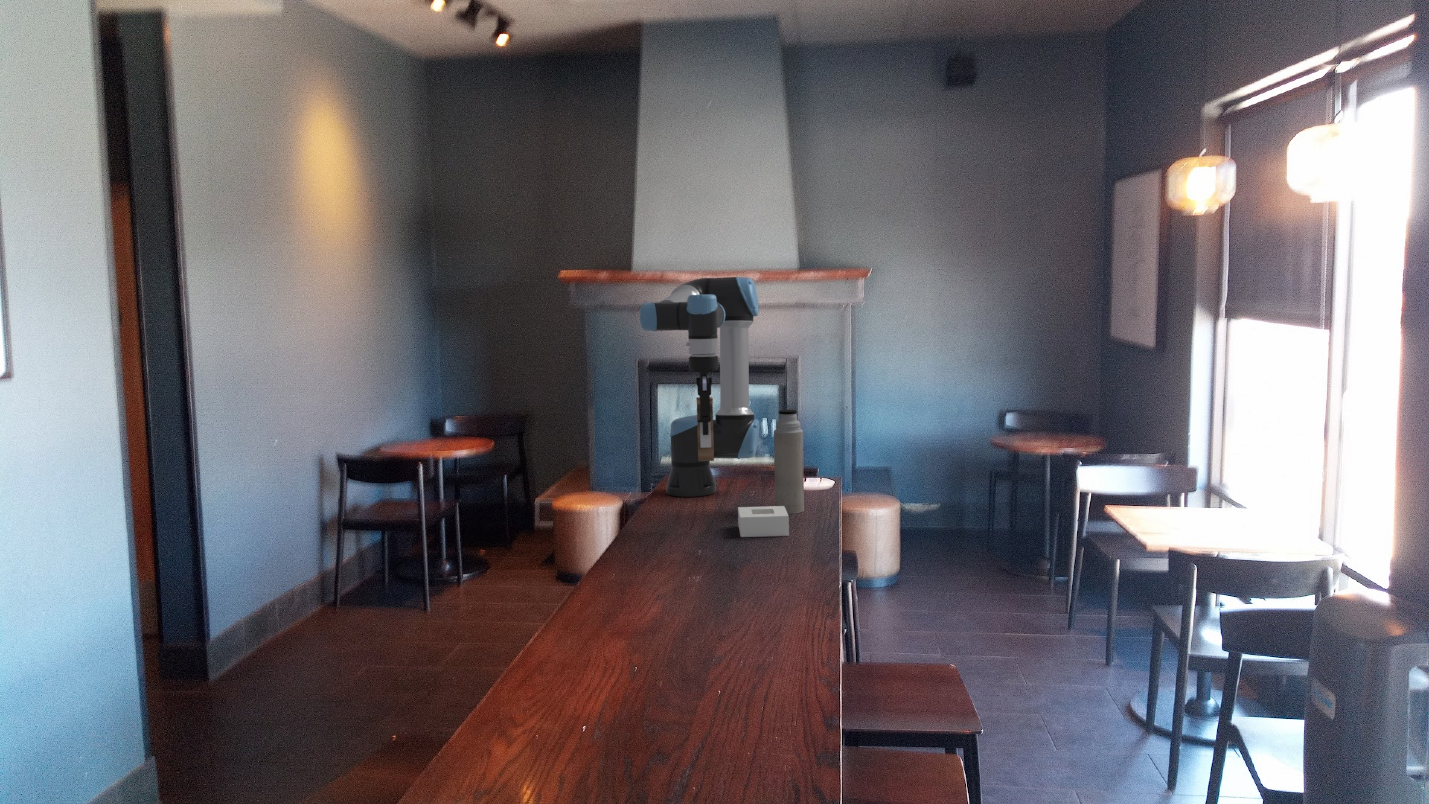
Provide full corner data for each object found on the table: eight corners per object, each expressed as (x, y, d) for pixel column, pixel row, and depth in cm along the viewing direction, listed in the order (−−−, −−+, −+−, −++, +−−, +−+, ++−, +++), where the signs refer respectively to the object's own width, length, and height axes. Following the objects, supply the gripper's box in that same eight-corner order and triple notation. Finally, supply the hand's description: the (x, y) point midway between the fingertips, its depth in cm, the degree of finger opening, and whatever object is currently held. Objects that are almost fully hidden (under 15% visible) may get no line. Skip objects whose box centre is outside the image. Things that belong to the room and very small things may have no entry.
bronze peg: (698, 458, 275) (696, 397, 273) (713, 458, 275) (712, 397, 273) (698, 461, 271) (696, 399, 269) (714, 460, 271) (712, 398, 269)
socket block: (738, 526, 275) (738, 507, 275) (784, 524, 275) (784, 505, 275) (740, 537, 263) (740, 517, 263) (788, 535, 263) (788, 515, 263)
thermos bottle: (803, 507, 296) (801, 408, 293) (805, 513, 288) (803, 411, 285) (774, 507, 296) (772, 408, 293) (775, 514, 288) (773, 412, 285)
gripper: (688, 353, 278) (690, 441, 281) (688, 358, 261) (691, 451, 264) (717, 352, 279) (719, 440, 281) (719, 357, 262) (721, 450, 264)
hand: (705, 445), depth 273 cm, fingers closed on bronze peg, 4 cm apart
